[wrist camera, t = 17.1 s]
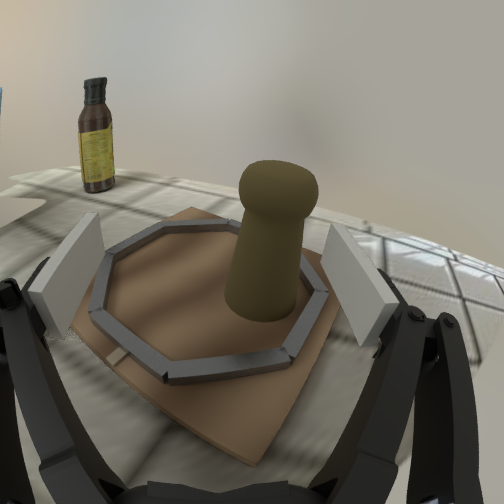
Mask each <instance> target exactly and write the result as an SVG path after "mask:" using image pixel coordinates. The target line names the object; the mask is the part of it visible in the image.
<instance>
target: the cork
mask: <svg viewBox="0 0 504 504" xmlns="http://www.w3.org/2000/svg"><path fill="white" fill-rule="evenodd" d="M239 195H240V200H241V202H242V205H243V206H244V208H245V211H244V215H243V219H242V223H241V227H240V231H239V235H238V239H237V243H236V247H235V251H234V255H233V258H232V262H231V267H230V271H229V275H228V279H227V283H226V287H225V291H224V297H225V302H226V303H227V305H228V306H229V308H230V309H231V310H232V311H233V312H235V313H236V314H237V315H239V316H241V317H243V318H245V319H248V320H250V321H256V322H262V323H264V322H275V321H278V320H281V319H283V318H285V317H287V316H288V315H289V314H290V313H291V312H292V311H293V309H294V307H295V305H296V297H297V289H298V280H299V271H300V261H301V251H302V240H303V229H304V219H305V218H306V217H307V216H309V215H310V213H311V212H312V211H313V209H314V207H315V205H316V203H317V199H318V185H317V182H316V179H315V177H314V175H313V174H312V173H311V172H310V171H308V170H307V169H305V168H303V167H301V166H298V165H295V164H292V163H289V162H284V161H276V160H263V161H257V162H255V163H252V164H250V165H249V166H248V167H247V168H246V169H245V171H244V172H243V174H242V177H241V179H240V182H239Z"/></svg>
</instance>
